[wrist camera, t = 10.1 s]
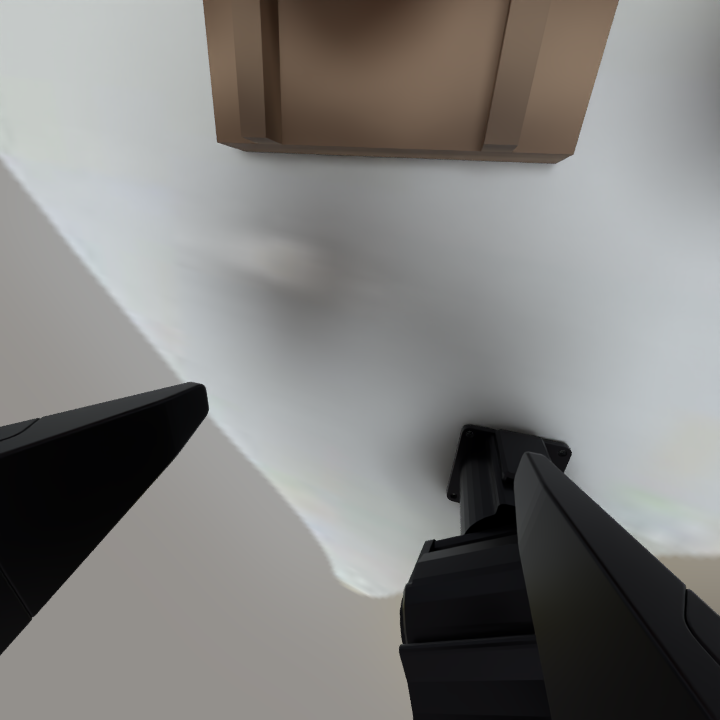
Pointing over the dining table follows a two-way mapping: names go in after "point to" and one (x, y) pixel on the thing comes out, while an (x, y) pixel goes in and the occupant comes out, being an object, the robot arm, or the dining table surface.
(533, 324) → the dining table surface
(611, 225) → the dining table surface
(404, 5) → the stand
